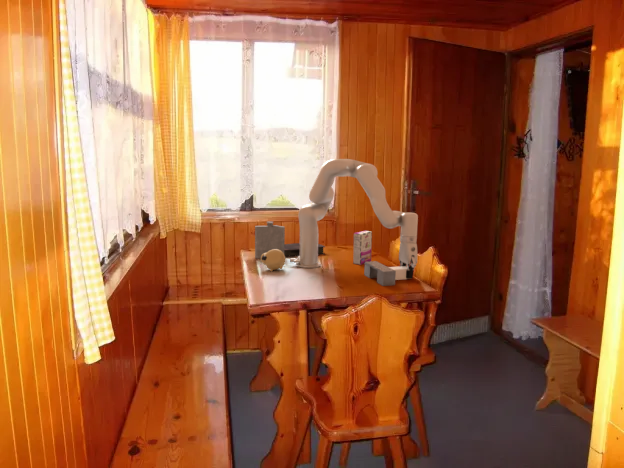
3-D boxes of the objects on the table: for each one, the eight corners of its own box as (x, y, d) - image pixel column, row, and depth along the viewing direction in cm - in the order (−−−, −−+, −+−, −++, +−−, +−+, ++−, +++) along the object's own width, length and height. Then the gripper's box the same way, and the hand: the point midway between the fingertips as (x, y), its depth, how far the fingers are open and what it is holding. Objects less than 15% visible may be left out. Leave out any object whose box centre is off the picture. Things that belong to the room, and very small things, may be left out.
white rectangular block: (384, 280, 234) (385, 270, 233) (379, 277, 238) (380, 267, 238) (411, 278, 238) (412, 268, 237) (406, 276, 243) (406, 266, 242)
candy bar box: (363, 260, 276) (364, 230, 273) (371, 261, 273) (372, 231, 270) (352, 263, 267) (353, 232, 265) (360, 265, 265) (361, 234, 262)
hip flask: (254, 258, 275) (254, 222, 271) (255, 256, 279) (255, 220, 275) (284, 259, 275) (284, 222, 271) (284, 257, 279) (284, 221, 275)
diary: (273, 252, 295) (273, 243, 295) (312, 249, 305) (312, 241, 305) (284, 258, 278) (284, 249, 278) (326, 255, 288) (326, 246, 288)
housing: (382, 285, 225) (383, 271, 224) (364, 275, 244) (364, 261, 243) (395, 285, 227) (395, 270, 226) (375, 274, 246) (376, 261, 245)
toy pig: (262, 267, 255) (262, 246, 253) (286, 268, 255) (286, 247, 253) (259, 272, 245) (259, 250, 243) (284, 272, 245) (284, 251, 243)
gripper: (425, 242, 230) (422, 281, 233) (406, 235, 246) (404, 272, 249) (410, 242, 228) (408, 282, 231) (392, 236, 244) (390, 273, 247)
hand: (406, 276), depth 240 cm, fingers closed on white rectangular block, 5 cm apart
